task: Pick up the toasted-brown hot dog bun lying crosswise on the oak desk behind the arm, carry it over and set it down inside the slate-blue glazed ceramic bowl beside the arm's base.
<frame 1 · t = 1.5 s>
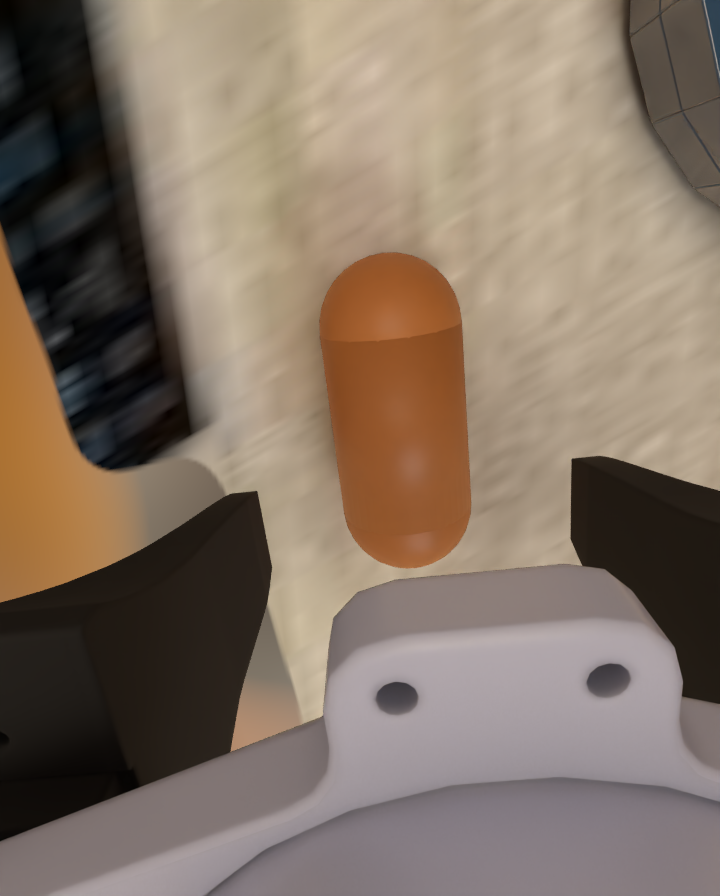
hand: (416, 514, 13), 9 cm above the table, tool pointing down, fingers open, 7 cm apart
bun: (395, 402, 22), on the table
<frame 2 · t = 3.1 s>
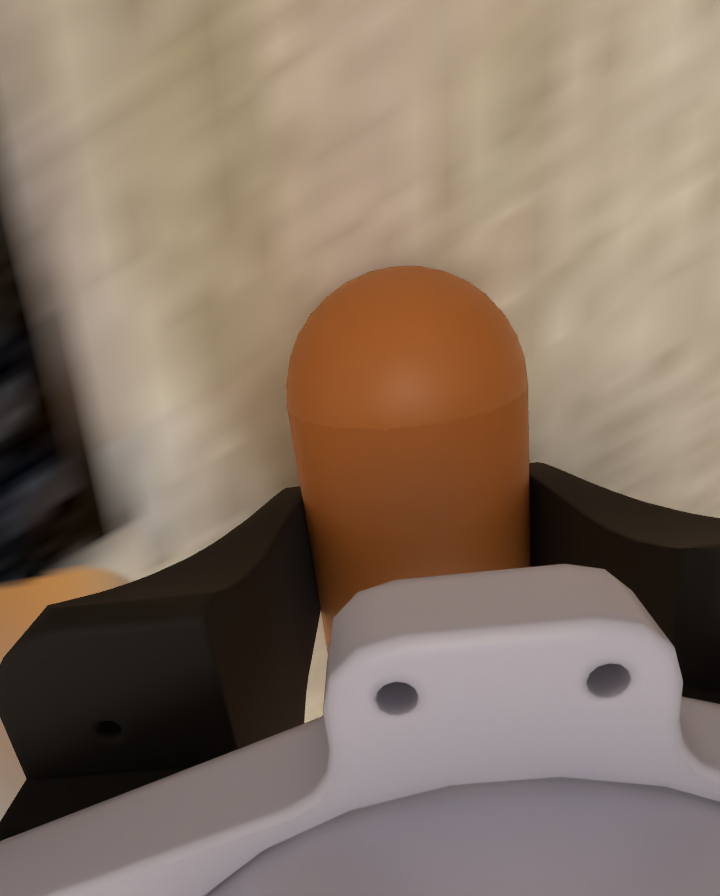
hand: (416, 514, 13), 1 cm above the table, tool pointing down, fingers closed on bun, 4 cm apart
bun: (409, 489, 14), on the table, touching gripper
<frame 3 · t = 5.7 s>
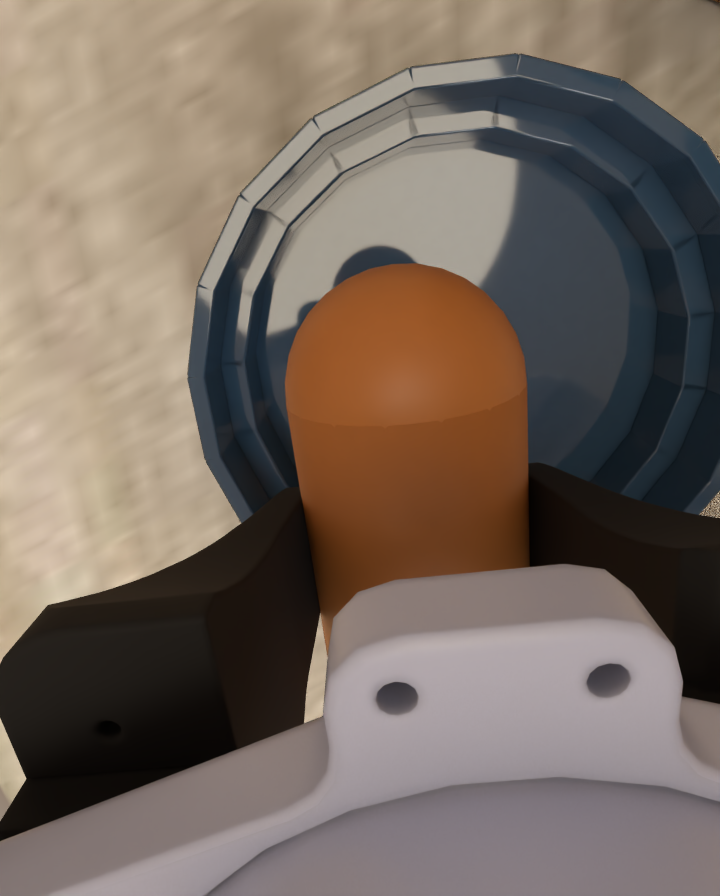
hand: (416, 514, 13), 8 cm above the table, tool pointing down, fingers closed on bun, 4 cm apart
bun: (409, 487, 14), point 7 cm above the table, touching gripper
bowl: (452, 359, 20), on the table
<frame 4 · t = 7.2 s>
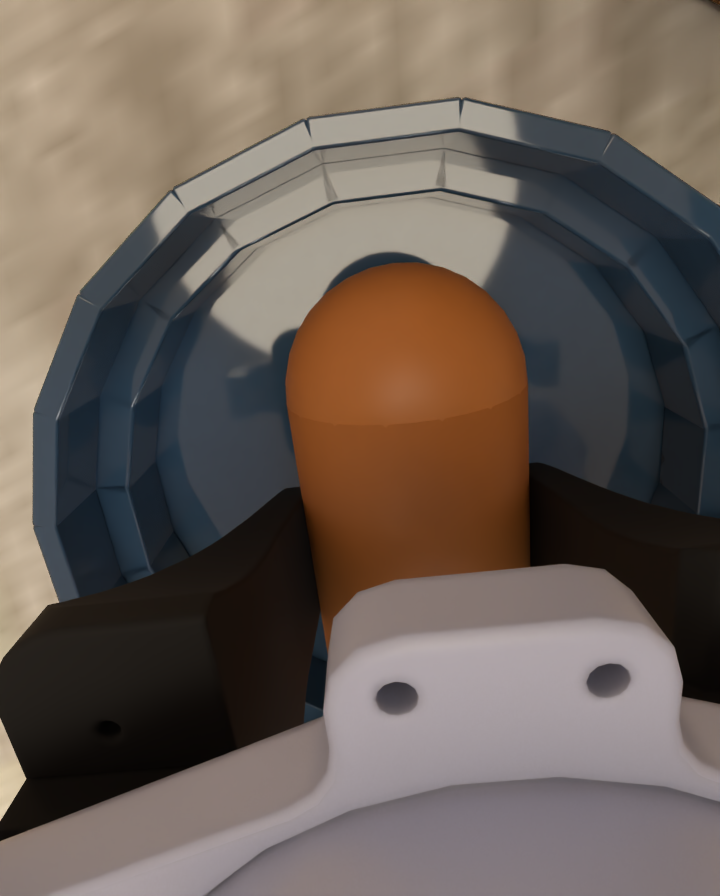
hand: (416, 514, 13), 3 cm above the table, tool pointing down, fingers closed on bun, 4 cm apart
bun: (409, 487, 14), point 2 cm above the table, touching gripper
bowl: (406, 462, 16), on the table
when the fingers open (2 cm above the table, at t = 8.1 s): bun stays where it is, resting on bowl.
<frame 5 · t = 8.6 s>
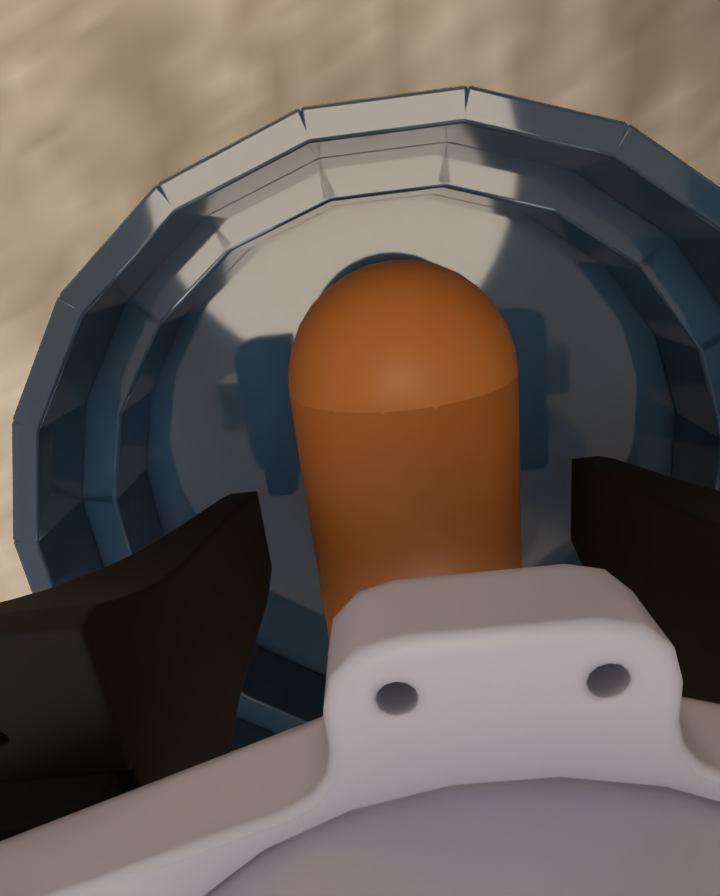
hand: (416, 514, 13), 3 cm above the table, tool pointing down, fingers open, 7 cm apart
bun: (406, 476, 15), point 1 cm above the table, touching bowl
bowl: (407, 470, 16), on the table
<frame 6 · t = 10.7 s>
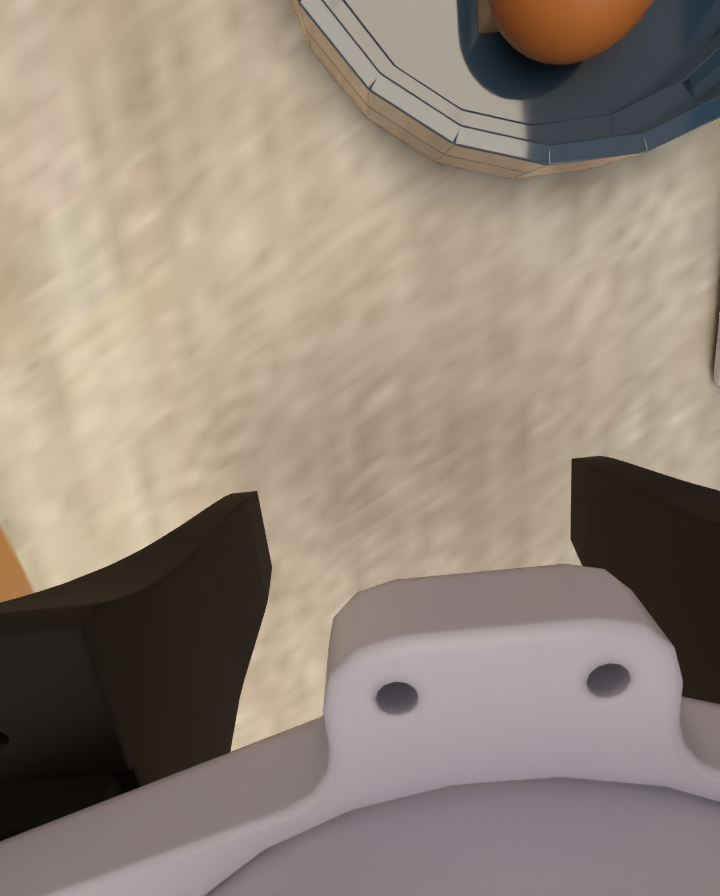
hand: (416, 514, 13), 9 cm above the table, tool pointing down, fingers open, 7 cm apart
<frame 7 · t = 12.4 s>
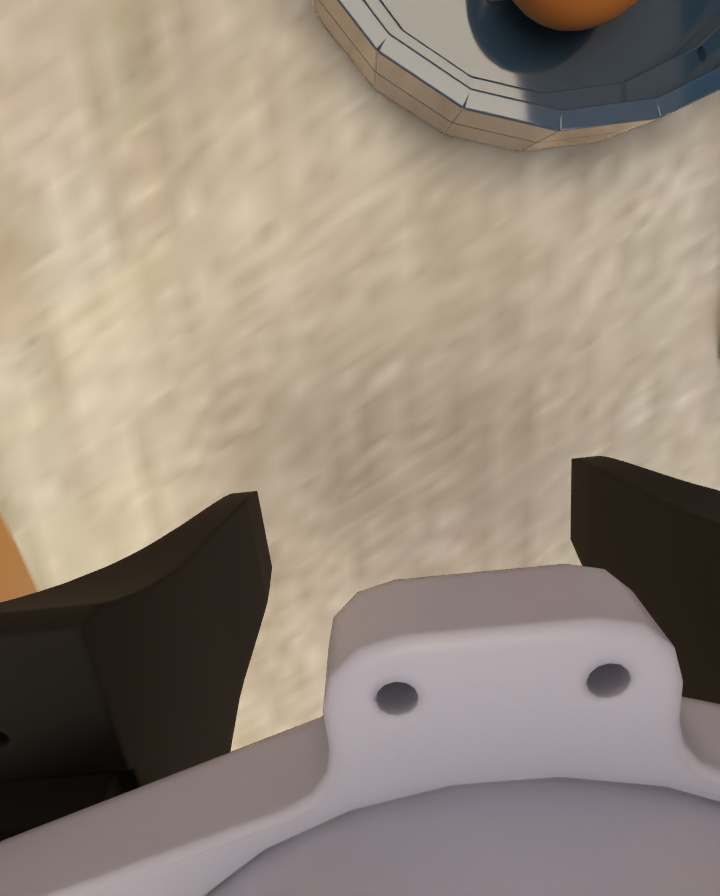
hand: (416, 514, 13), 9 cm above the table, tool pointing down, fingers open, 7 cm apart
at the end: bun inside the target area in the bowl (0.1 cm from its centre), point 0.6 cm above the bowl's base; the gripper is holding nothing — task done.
